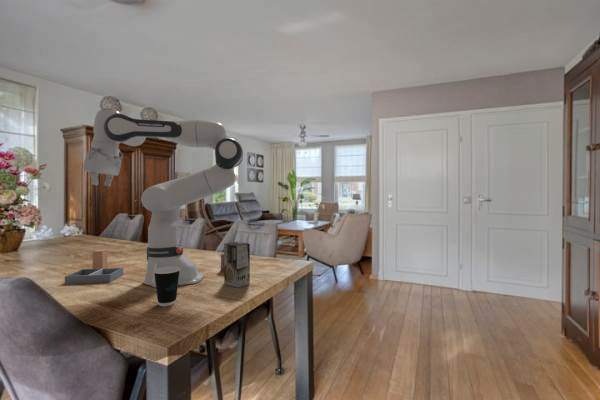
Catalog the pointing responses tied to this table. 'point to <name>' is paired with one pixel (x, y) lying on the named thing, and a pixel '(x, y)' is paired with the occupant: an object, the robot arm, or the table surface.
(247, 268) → the coffee box
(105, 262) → the block
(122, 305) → the table surface
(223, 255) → the lighter
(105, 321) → the table surface
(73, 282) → the organiser
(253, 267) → the table surface
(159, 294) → the dixie cup
